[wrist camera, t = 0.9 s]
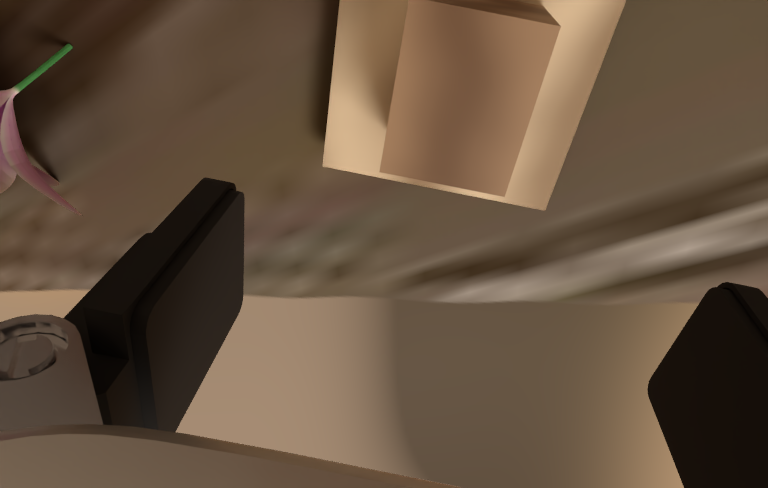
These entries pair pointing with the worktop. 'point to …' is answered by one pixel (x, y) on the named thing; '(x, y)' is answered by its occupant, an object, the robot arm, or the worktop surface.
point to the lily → (4, 147)
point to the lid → (464, 91)
